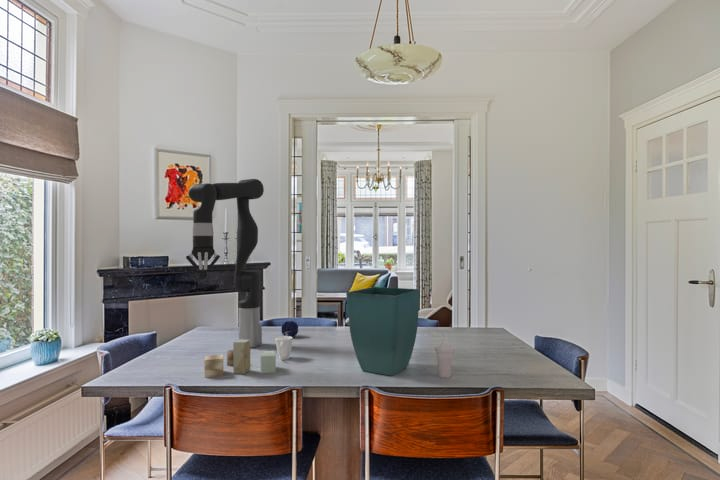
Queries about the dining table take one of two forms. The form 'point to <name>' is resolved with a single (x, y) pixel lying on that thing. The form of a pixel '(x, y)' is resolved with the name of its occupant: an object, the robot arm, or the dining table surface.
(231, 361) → the walnut cylinder
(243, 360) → the box
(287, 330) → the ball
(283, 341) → the cup
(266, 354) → the sage block
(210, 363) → the beech cube
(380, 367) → the flower pot
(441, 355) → the smoothie
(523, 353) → the dining table surface
